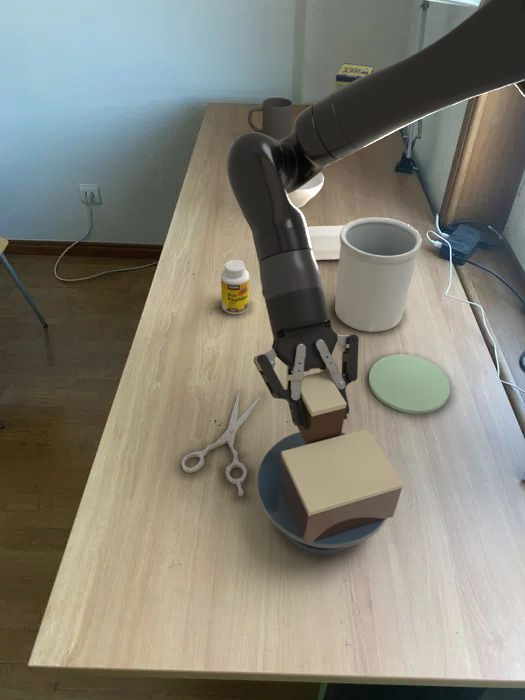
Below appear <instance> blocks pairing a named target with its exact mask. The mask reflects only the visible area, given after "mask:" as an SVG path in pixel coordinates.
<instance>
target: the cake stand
mask: <svg viewBox="0 0 525 700" xmlns="http://www.w3.org/2000/svg"><path fill="white" fill-rule="evenodd" d="M394 468H395V467H393V465H392V464H391V462H390V460H389V459H388V457H387V456H386V453H385V452H384V450H383V449H382V447H381V446H380V444H379V442H378V441H377V440H376V438H375V436H374V434H373V433H372V431H371V430H370V428H365V429H361V430H358V431H353V432H350V433H345V432H342V433H341V436H338V437H334V438H330V439H327V440H323V441H319V442H315V443H312V444H308V445H306V443H305V441H304V439H303V437H302V435H301V433H300V431H298V432H295V433H292V434H290V435H288V436H286V437H284V438H282V439H280V440H279V441H277V443H275V444H274V445H273V446H272V447H271V448H269V450H268V451H267V453H266V454H265V455H264V457H263V458H262V461H261V462H260V466H259V469H258V473H257V494H258V499H259V502H260V506H261V507H262V509H263V511H264V513H265V514H266V516H267V518H268V519H269V520H270V521H271V522H272V524H273V525H274V526H275V527H276V528H277V529H278V530H280V531H281V533H283V534H284V535H285V536H286V538H287V539H288V540H289V541H290V542H291V543H292V544H294V545H295V546H297V548H299V549H301V550H304V551H306V552H308V553H312V554H317V555H331V554H335V553H340V552H342V551H344V550H346V549H348V548H349V547H351V546H355V545H358V544H361V543H363V542H365V541H367V540H368V539H370V538H371V537H373V536H374V535H375V534H377V533H378V532H379V531H380V530H381V528H383V526H384V525H385V524H386V522H387V521H388V519H390V518H393V517H394V515H395V512H396V509H397V506H398V502H399V499H400V496H401V493H402V490H403V487H404V483H403V482H402V479H401V478H400V476H399V475H398V473H397V471H396V470H395V469H394Z"/></svg>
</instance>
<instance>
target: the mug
mask: <svg viewBox="0 0 525 700" xmlns="http://www.w3.org/2000/svg"><path fill="white" fill-rule="evenodd" d="M254 112H262V119H261V122H262V123H261V126H262V128H261V129H259V128H258V127H257V126H256V125H255V124H254V123H253V119H252V118H253V113H254ZM292 119H293V101H292V100H290V99H288V98H284V97H269V98H266V99H264V100H263V101H262V107H253V108H251V109H249V110H248V114H247V121H248V125H249V127H250V128H251V129H252V130H253V132H259V133H262V134H265V135H268V136H270V137H272V138H275V139H277V140H281V139H283V138H285V137H287V136H289V135H290V134H291V133H292V123H293V121H292Z"/></svg>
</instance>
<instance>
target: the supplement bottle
mask: <svg viewBox="0 0 525 700" xmlns="http://www.w3.org/2000/svg"><path fill="white" fill-rule="evenodd" d="M220 290H221V291H220V293H221V308H222V310H223V311H224V312H226V313H228V314H230V315H239V314H243V313H245V312H247V310H248V309H249V306H250V274H249V271H248V270H247V269H246V263H245V262H244V261H242V260H239V259H231V260H228V261H226V262H225V263H224V270H222V272H221V273H220Z"/></svg>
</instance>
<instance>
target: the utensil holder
mask: <svg viewBox="0 0 525 700" xmlns="http://www.w3.org/2000/svg"><path fill="white" fill-rule="evenodd" d="M344 225H345V226H344V227H343V228H342V230H341V233H340V243H341V246H340V256H339V259H338V265H337V266H338V267H337V275H336V284H335V285H336V287H335V298H334V299H335V301H334V311H335V314H336V316H337V318H338V319H339V320H340V321H341V322H342V323H343V324H345V325H346V326H348V327H350V328H353V329H355V330H358V331H363V332H369V333H370V332H371V333H373V332H374V333H375V332H377V333H378V332H385V331H388V330H391V329H392V328H394V327H396V326H397V325H399V323H400V322H401V320H402V318H403V315H404V311H405V308H406V304H407V300H408V296H409V291H410V287H411V283H412V279H413V275H414V272H415V266H416V263H417V258H418V254H419V253H420V250H421V247H422V242H423V241H422V235H421V233H419V231H418V230H417V229H416V228H414V227H413V226H412V225H410V224H408V223H406V222H403V221H401V220H397V219H395V218H388V217H377V216H376V217H361V218H357V219H354V220H351V221H349V222H347V223H346V224H344Z"/></svg>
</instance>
